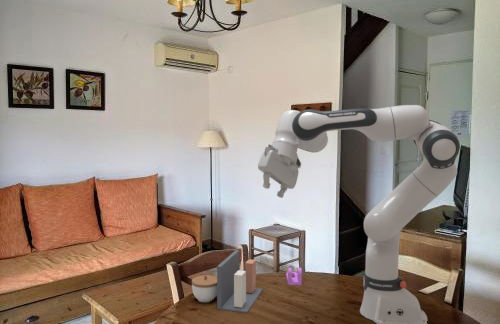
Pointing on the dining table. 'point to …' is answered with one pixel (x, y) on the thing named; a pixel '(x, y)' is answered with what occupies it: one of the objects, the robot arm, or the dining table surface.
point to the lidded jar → (204, 287)
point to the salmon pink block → (250, 275)
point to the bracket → (297, 277)
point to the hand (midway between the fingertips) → (273, 192)
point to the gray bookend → (231, 285)
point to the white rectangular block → (239, 288)
